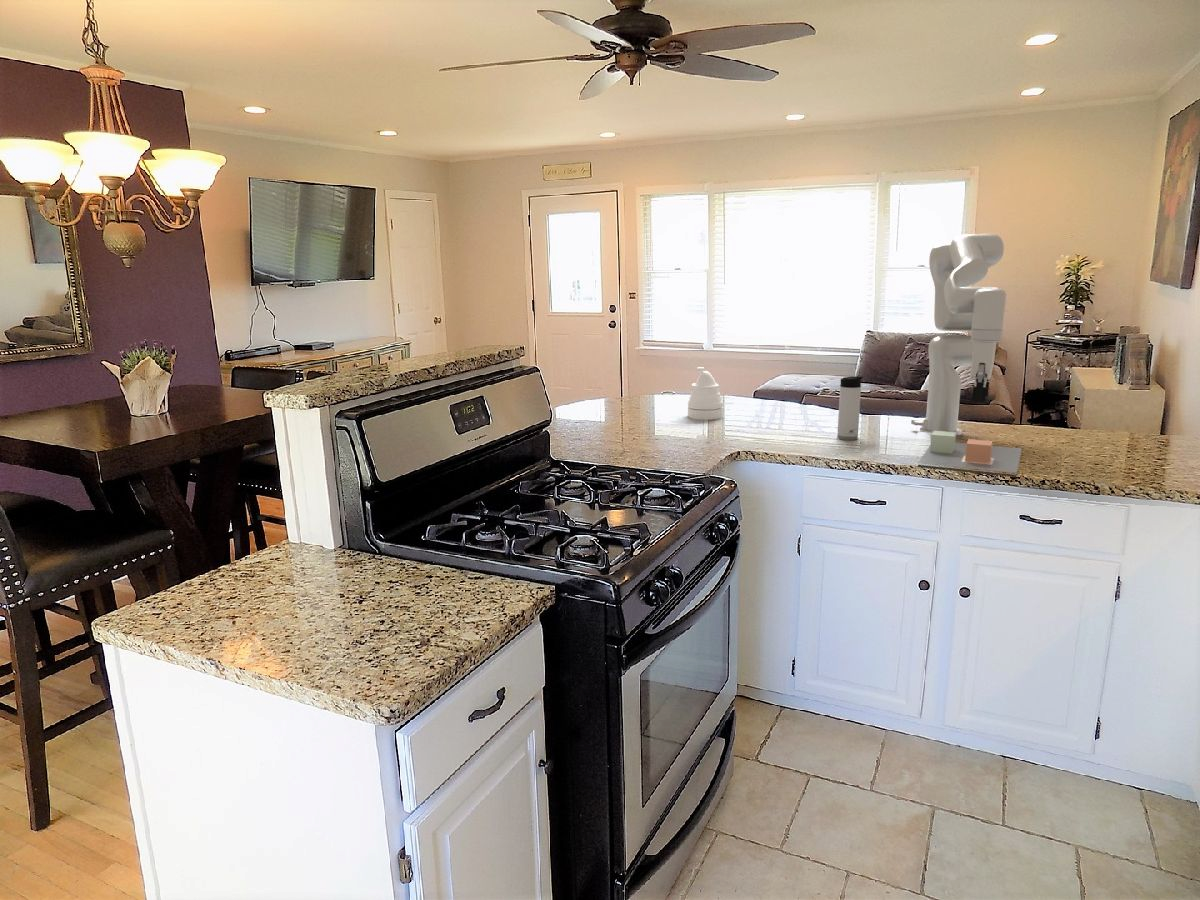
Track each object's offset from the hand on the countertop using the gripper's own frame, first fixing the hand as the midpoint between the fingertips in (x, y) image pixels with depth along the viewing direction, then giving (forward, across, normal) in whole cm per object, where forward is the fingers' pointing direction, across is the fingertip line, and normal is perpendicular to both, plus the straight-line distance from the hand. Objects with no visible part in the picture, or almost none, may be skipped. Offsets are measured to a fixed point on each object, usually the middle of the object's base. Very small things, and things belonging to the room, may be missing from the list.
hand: (979, 398), depth 214 cm
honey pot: (+19, -33, -93) cm, 100 cm away
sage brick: (+17, -7, -9) cm, 20 cm away
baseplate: (+18, -4, -1) cm, 19 cm away
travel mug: (+18, -17, -38) cm, 46 cm away
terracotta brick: (+17, +1, +1) cm, 17 cm away
